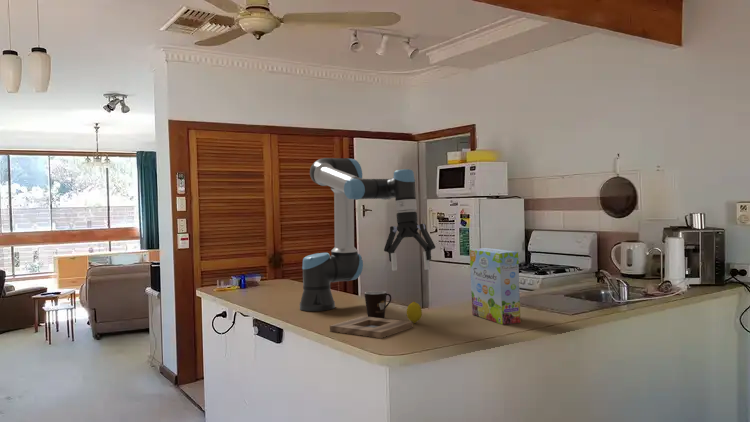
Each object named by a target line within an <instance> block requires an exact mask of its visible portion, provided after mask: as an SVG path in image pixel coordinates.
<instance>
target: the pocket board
mask: <svg viewBox="0 0 750 422" xmlns="http://www.w3.org/2000/svg"><path fill="white" fill-rule="evenodd" d="M412 328H413V322H412V321H410V320H409V321H408V320H400V319H399V320H398V319H393V318H391V319H390V318H385V319H384V318H375V317H368V316H366V315H364V316H363V315H361V316H358V317H356V318H351V319H348V320H344V321H342V322H337V323H334V324H331V325H329V332H333V333H338V332H340V334H345V333H347V334H348V335H353V334H354V336H360V335H363V336H362V337H367V336H369V337H368V338H374V337H376V338H375V339H384V338H387V337H389V336H393V335H394V334H398V333H401V332H404V331H407V330H409V329H412ZM386 336H387V337H386ZM383 337H384V338H383Z"/></svg>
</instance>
